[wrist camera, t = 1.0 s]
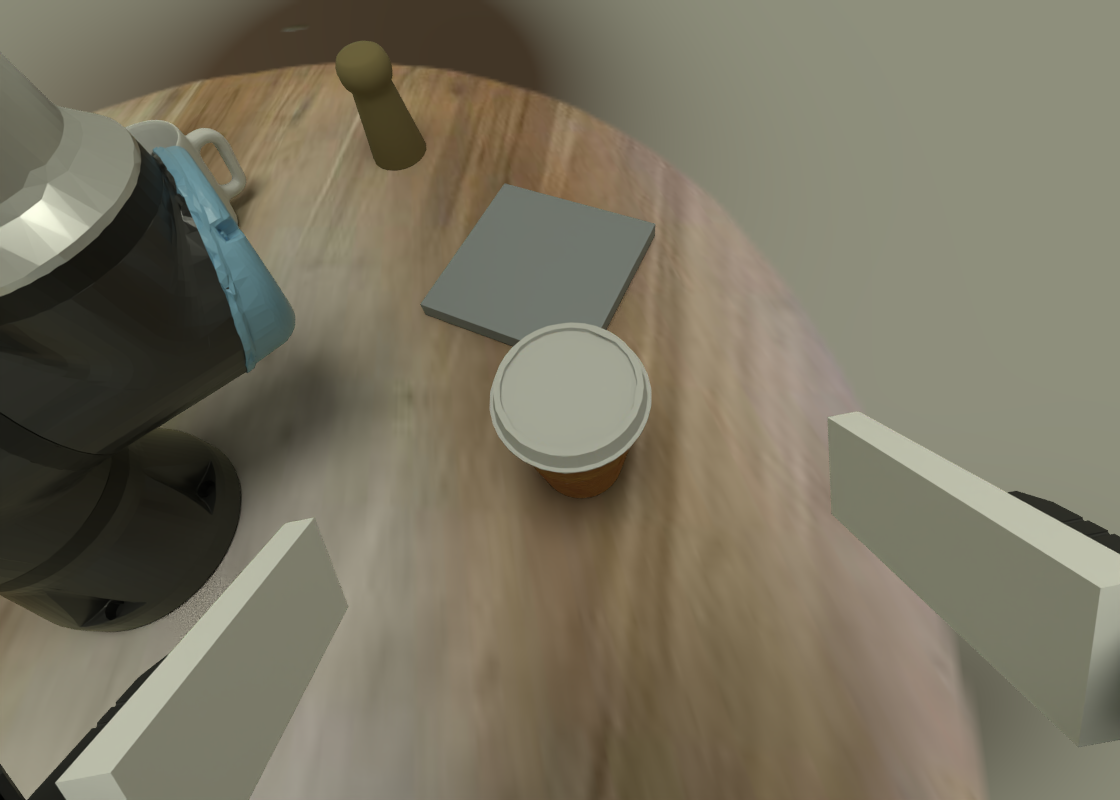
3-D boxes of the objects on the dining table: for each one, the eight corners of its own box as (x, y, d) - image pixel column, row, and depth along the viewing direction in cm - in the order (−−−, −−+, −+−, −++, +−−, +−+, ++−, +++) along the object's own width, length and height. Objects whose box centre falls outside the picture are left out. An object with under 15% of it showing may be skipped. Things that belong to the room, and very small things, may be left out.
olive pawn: (422, 168, 57) (382, 65, 48) (369, 172, 58) (318, 72, 48) (429, 131, 60) (392, 27, 50) (378, 136, 61) (331, 34, 51)
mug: (241, 176, 60) (174, 91, 51) (286, 203, 57) (224, 118, 48) (157, 241, 56) (71, 162, 48) (201, 273, 54) (117, 196, 45)
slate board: (425, 314, 48) (420, 304, 47) (507, 195, 54) (504, 183, 53) (584, 372, 44) (583, 363, 42) (654, 235, 50) (655, 223, 48)
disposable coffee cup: (508, 509, 39) (465, 451, 29) (534, 396, 43) (506, 308, 33) (635, 530, 38) (641, 477, 27) (651, 410, 42) (661, 323, 31)
